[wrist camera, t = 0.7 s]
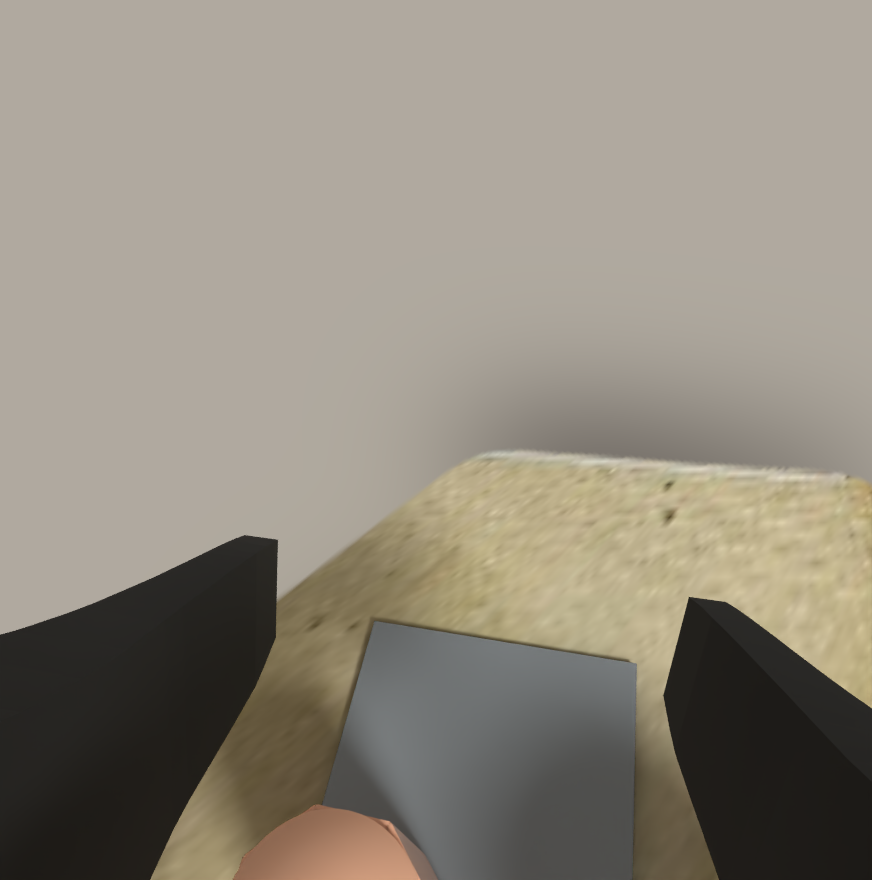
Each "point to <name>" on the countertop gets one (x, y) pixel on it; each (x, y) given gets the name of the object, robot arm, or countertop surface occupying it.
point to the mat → (493, 755)
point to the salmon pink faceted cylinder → (335, 850)
